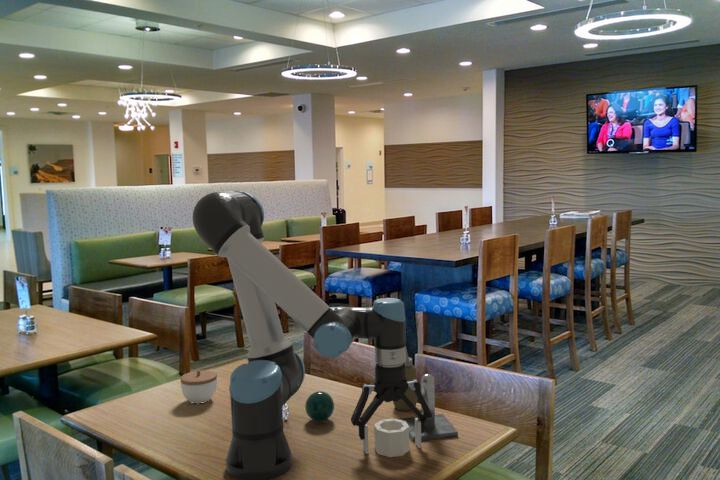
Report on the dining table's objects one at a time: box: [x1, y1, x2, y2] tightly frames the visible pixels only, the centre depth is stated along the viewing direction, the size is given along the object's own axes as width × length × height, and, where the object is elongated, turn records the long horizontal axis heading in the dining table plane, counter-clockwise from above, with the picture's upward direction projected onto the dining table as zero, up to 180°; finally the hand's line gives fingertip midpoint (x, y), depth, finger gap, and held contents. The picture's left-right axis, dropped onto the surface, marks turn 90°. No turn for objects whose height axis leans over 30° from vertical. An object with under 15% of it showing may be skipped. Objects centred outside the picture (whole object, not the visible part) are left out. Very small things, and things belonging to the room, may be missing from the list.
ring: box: [373, 418, 410, 458], centre depth 145 cm, size 8×8×6 cm
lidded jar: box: [179, 369, 218, 403], centre depth 181 cm, size 11×11×9 cm
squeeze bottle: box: [392, 345, 419, 412], centre depth 170 cm, size 8×8×18 cm
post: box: [399, 373, 459, 442], centre depth 155 cm, size 12×12×15 cm
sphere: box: [304, 390, 335, 422], centre depth 163 cm, size 8×8×8 cm
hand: (392, 448), depth 145 cm, fingers open, 12 cm apart
